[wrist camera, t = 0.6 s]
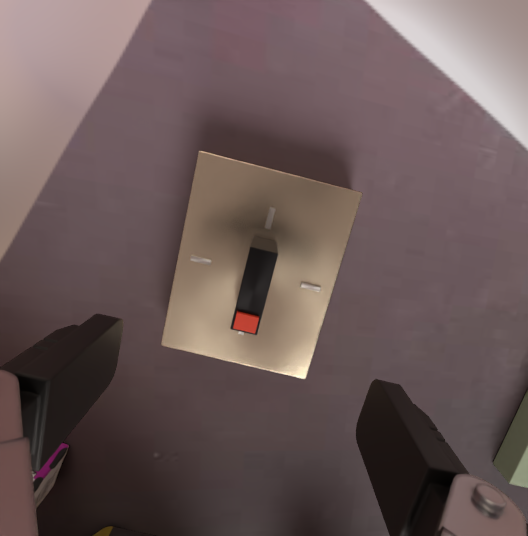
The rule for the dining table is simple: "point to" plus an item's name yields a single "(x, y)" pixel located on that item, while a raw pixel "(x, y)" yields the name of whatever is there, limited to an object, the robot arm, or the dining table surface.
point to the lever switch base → (235, 257)
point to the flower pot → (104, 531)
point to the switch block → (515, 449)
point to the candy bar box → (48, 474)
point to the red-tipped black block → (255, 285)
